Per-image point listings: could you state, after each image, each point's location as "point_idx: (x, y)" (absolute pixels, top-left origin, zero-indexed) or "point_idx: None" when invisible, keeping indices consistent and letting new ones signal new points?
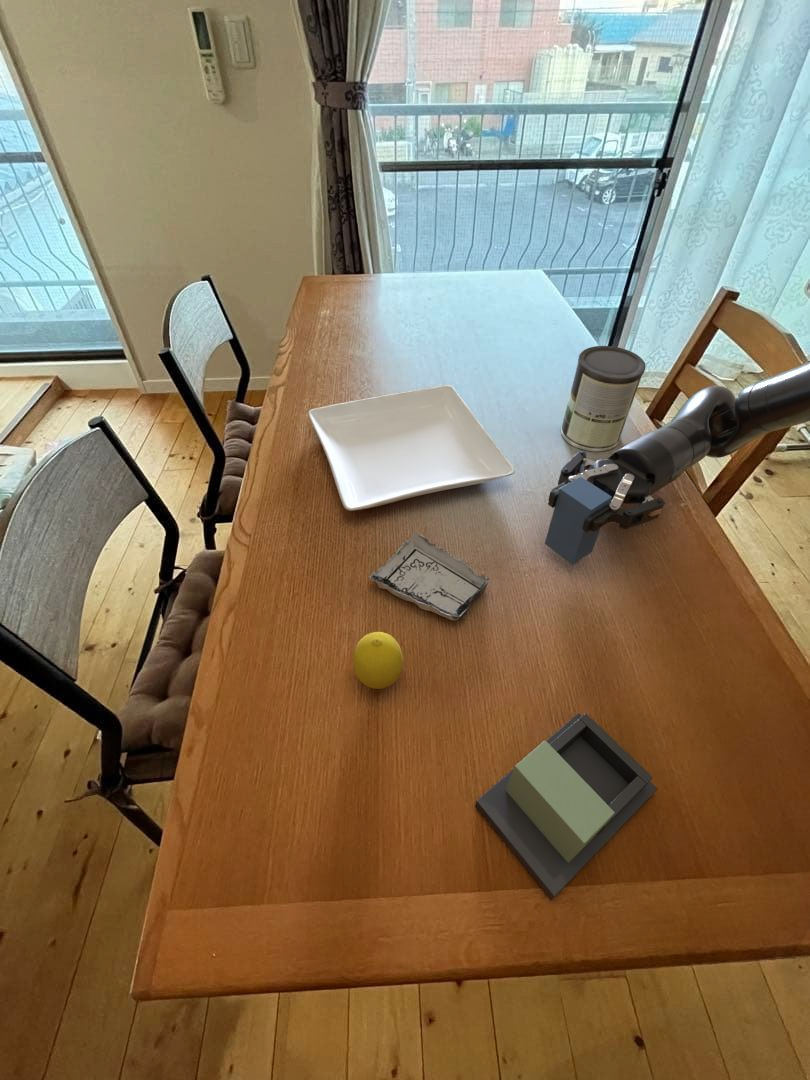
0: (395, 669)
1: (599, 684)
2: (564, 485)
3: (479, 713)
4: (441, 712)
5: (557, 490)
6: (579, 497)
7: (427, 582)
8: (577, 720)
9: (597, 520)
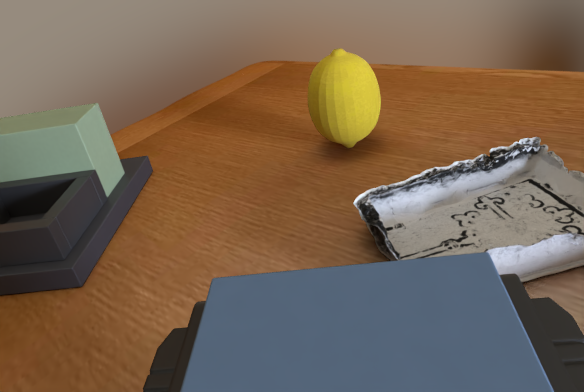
0: (308, 94)
1: (58, 357)
2: (564, 368)
3: (215, 204)
4: (255, 178)
5: (521, 300)
6: (339, 289)
7: (500, 231)
8: (57, 214)
9: (175, 348)
